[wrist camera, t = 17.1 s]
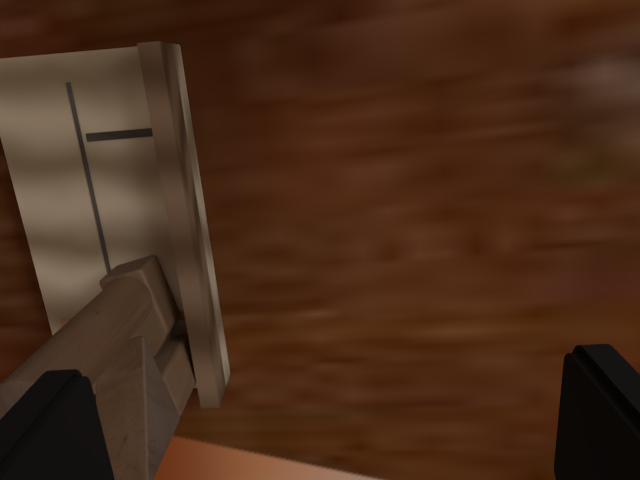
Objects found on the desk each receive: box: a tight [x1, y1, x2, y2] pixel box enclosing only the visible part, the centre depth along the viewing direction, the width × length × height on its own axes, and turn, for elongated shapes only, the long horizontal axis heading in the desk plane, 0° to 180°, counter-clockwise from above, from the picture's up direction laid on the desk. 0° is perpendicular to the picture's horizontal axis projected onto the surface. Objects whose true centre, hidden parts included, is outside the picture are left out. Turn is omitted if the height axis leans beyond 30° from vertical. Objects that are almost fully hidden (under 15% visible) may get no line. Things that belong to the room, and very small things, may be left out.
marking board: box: [0, 41, 230, 408], centre depth 41 cm, size 28×14×5 cm, turn 5°
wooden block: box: [0, 255, 196, 480], centre depth 35 cm, size 4×11×18 cm, turn 17°
